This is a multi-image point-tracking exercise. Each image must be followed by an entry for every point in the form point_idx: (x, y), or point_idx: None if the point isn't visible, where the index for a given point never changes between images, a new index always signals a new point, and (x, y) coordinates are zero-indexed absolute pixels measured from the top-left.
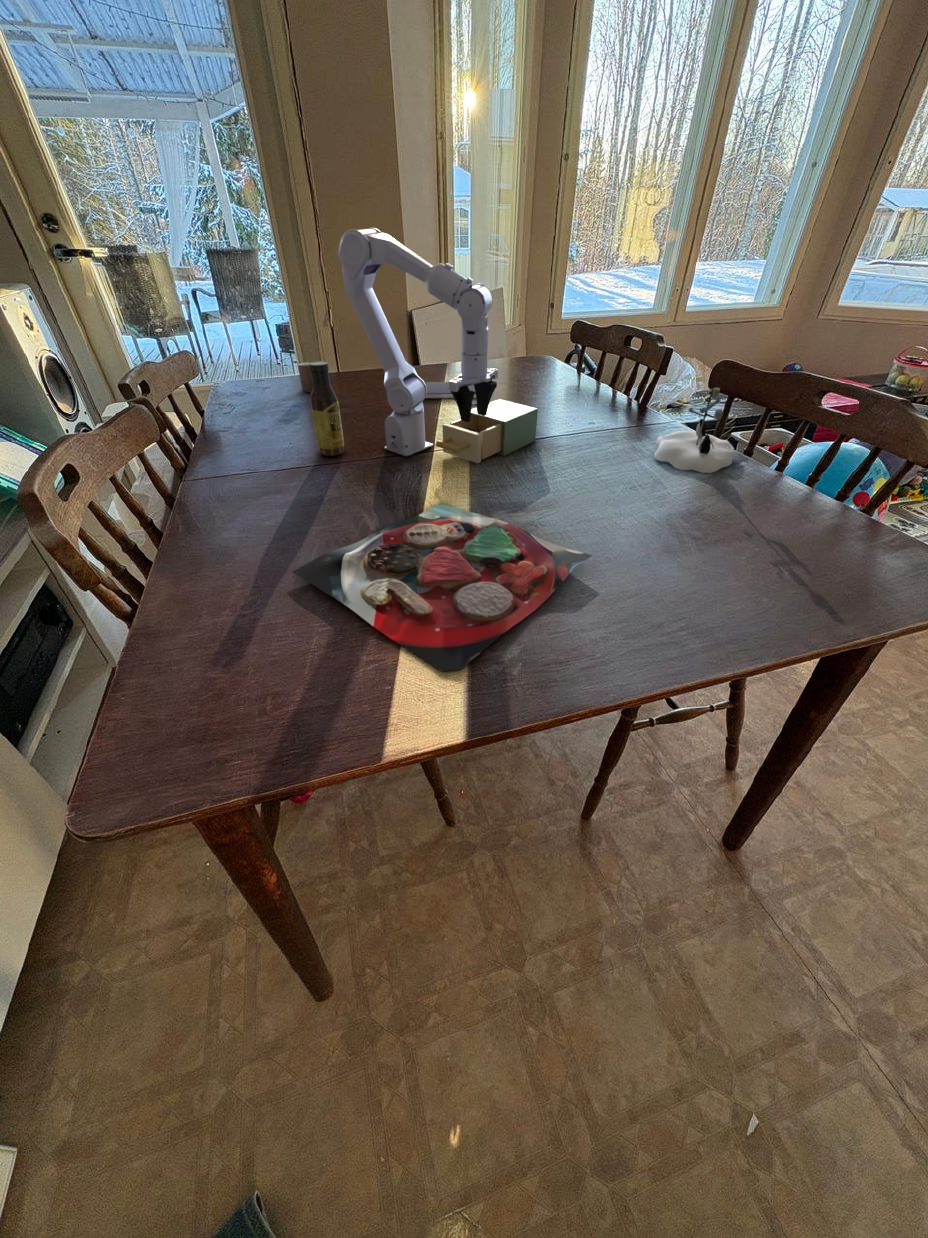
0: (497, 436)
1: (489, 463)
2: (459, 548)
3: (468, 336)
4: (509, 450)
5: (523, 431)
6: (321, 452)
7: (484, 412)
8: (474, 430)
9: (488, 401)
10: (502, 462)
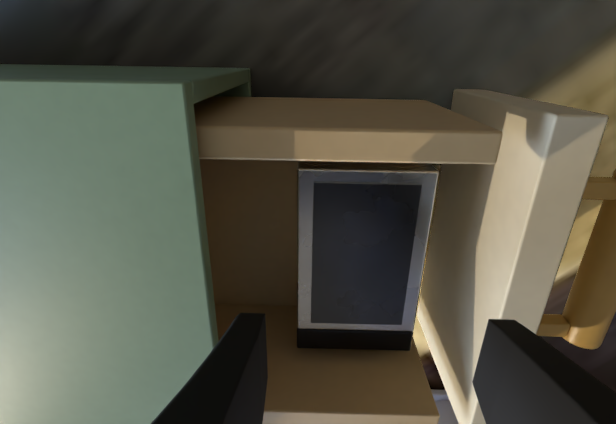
0: (275, 111)
1: (396, 63)
2: None
3: None
4: (191, 67)
5: None
6: None
7: (260, 334)
8: (322, 290)
9: (195, 416)
10: (336, 6)
